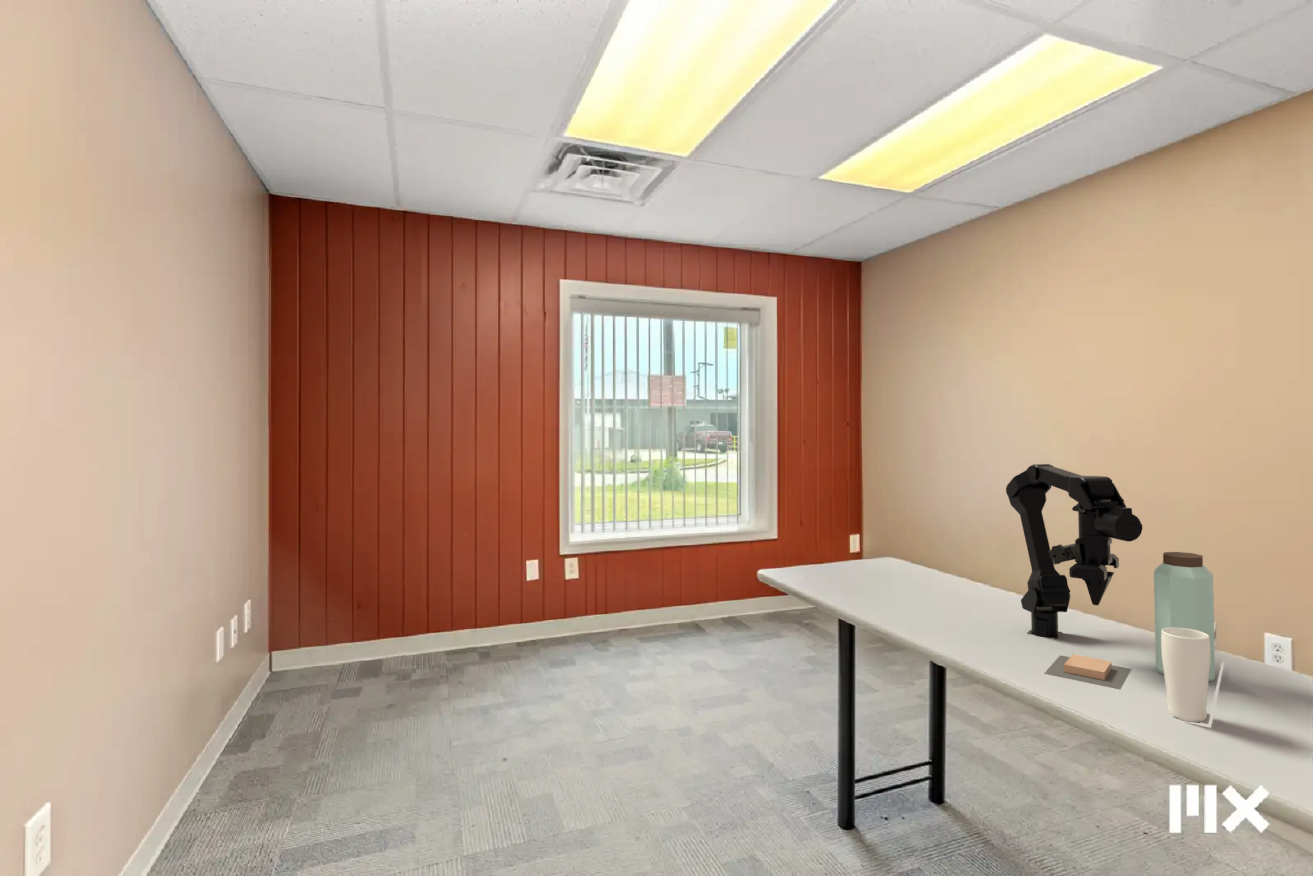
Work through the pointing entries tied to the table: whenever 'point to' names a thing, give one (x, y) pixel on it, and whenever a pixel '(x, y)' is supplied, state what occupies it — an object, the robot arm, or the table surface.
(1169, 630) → the drinking glass
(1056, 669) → the mat
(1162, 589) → the water bottle
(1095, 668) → the tile
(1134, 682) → the table surface
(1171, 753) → the table surface
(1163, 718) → the table surface
